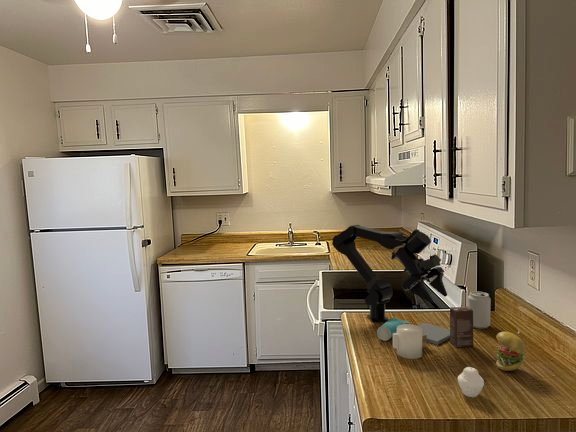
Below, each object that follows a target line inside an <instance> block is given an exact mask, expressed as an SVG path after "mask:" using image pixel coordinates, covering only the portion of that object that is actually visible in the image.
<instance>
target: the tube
mask: <svg viewBox="0 0 576 432" xmlns="http://www.w3.org/2000/svg"><path fill="white" fill-rule="evenodd" d="M410 323H411V322H409V321H407V320H403V319H399V318H395V317H390V318H388V321H385V323H383V324H382V325H381V326H379V327H378V328H377V331H376V335H377V337H378V338H379V339H380V340H381V341H384V342H385V341H389V340H390V339H392V338H393V333H397V326H399V325H402V324H410Z"/></svg>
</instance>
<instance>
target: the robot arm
mask: <svg viewBox="0 0 576 432" xmlns="http://www.w3.org/2000/svg"><path fill="white" fill-rule="evenodd" d="M358 238H361V239H364V240H368V241H372V242H376V243H378V244H379V245H380V247H383V248H385V249H387V250H394V249H397V250H396V251H395V250H394V251H392V252H391V259H390V260H396V259H398V261H399V262H400V263H401V265H402V266H403V268H404V269H403V271H404V272H405V273H407V272H408V274H409V275H408V277H406V278H405V279H404V281H402V282H401V287H402V289H403V290H404V291H405V292H406V291H407V292H408V293H412V294H414V295H416V296H418V297H420V298H421V299H423V300H425V301H427V302H428V303H433V302H434V300H433V298H432V295H430V293H429V291H428V290H427V288H426V287H425V281H426V282H428V285H429V286H430V287H432V288H433V289H435V291H437V292H438V294H440V295H442V296H443V297H445V298H446V297H448V292H447V290H446V288H445V284H444V282H443V276H444V274H445V272H446V271H445V269H443V268H442V266H441V261H442V260H441V259H442V258H440V257H439V256H438V255H437V254H433V255H430V256H429V258H428V259H425V260H424V259H423V258H419V257H418V256H417V254H418V255H419V254H421V253H422V252H423V251H424V250H425V249H426V248H427V247H428V246H430V244H431V242H432V240H431V238H430V237H429V235H428V234H426V233H424V232H422V231H420V229H419V228H418V229H414V230H413V231H412V233H410V235H409V236H407V235H404V233H402V232H401V231H382V230H378V229H375V228H370V227H366V226H362V225H359V224H354V225H349V226H348V227H347V228H346V229H344V230H343V231H341V232H339V233H338V234H336V235H334V236H333V238H332V241H331V242H332V244H331V245H332V246H333V248H334V249H335V250H336V251H337V252H338V253H340V254H341V255H343V256H345V257H346V258H347V259H348V260H349V262H350V263H351V265H352V266H353V268H354V269H355V271H356V272H357V273H358V274H359V275H360V277H361V278H362V279H363V281H364V282H365V283H366V287H367V293H368V295H367V296H366V297H365V298H364V302H365V305H368V306H369V314H367V315H366V317H367V318H368V319H369V320H370V321H371V322H373V323H375V322H376V323H377V322H387V321H388V320H389V318H388V317H386V303H389V302H390V299H391V298H392V297H393V295H394V293H393V291H394V290H393V288H392V284H391V283H389V281H388V279H387V278H385V277H381V278H380V277H379V276H377V275H376V273H375V272H374V270H373V269H372V268H371V267H370V265H369V264H368V263H367V262H366V260H365V259H364V258H363V256H362V255H361V253H360V252H359V251H358V250H357V247H356V242H355V241H356V240H357V239H358Z"/></svg>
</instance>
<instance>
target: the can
mask: <svg viewBox="0 0 576 432" xmlns="http://www.w3.org/2000/svg"><path fill="white" fill-rule="evenodd" d="M491 302H492V299H491V297H490V295H489V293H487V292H483V291H479V290H478V291H477V290H476V291H470V292H469V295H468V296H467V307H469V308H471V309H472V310H473V329H474V328H475V329H480V330H482V329H487V328H488V327H489V326H491V306H492V304H491Z"/></svg>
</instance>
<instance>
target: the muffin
mask: <svg viewBox="0 0 576 432" xmlns="http://www.w3.org/2000/svg"><path fill="white" fill-rule="evenodd" d="M482 377H483V376H481V375H480V374H479V370H478V369H476V368H474V367H471V366H466V367H465V368H464V369H463V370H462V372H461V373H460V374H459V375H458V376H457V382H458V386H459V388H460V389H461V391H462V393H463V395H465V396H466V397H468V398H477V397H478V395H479V394H480V393H481V391H482V390H483V387H484V386H485V381H484V378H482Z"/></svg>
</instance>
